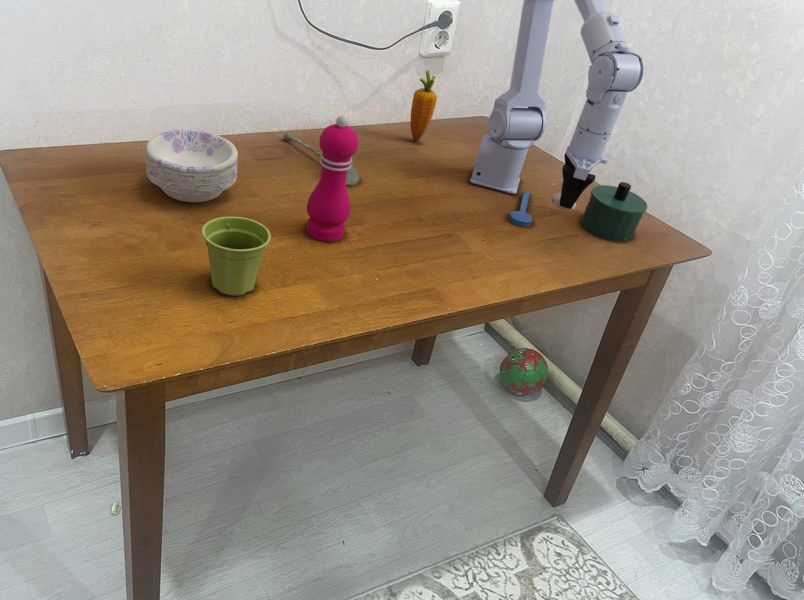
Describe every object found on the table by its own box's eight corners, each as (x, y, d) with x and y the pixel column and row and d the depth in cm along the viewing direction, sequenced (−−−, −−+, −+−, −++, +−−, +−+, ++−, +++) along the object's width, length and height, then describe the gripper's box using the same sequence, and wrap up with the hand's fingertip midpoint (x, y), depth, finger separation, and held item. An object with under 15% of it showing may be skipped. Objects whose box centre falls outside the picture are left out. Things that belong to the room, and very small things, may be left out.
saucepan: (580, 232, 134) (592, 204, 130) (582, 210, 142) (593, 183, 138) (632, 246, 133) (645, 218, 129) (631, 224, 140) (643, 197, 137)
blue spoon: (507, 222, 133) (509, 218, 132) (515, 192, 144) (517, 187, 143) (529, 228, 132) (531, 224, 131) (536, 197, 143) (537, 193, 143)
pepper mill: (351, 229, 122) (372, 115, 109) (337, 247, 116) (357, 129, 104) (312, 217, 123) (328, 103, 111) (297, 235, 118) (312, 117, 105)
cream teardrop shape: (565, 201, 131) (570, 188, 129) (581, 214, 127) (586, 202, 125) (545, 202, 129) (550, 189, 127) (561, 215, 125) (566, 203, 124)
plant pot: (202, 264, 107) (204, 212, 101) (265, 269, 108) (270, 219, 103) (197, 300, 99) (199, 246, 94) (265, 305, 101) (270, 253, 95)
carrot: (425, 148, 155) (441, 78, 145) (402, 143, 155) (417, 73, 146) (427, 140, 159) (443, 72, 149) (405, 135, 159) (420, 66, 150)
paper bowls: (157, 214, 116) (157, 169, 111) (138, 172, 126) (137, 129, 121) (247, 208, 122) (250, 165, 117) (221, 168, 132) (223, 127, 127)
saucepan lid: (589, 207, 131) (597, 188, 128) (590, 185, 139) (597, 167, 136) (646, 222, 129) (655, 203, 127) (644, 199, 137) (652, 181, 135)
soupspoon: (338, 191, 134) (364, 187, 138) (341, 175, 132) (368, 171, 135) (273, 140, 145) (299, 137, 149) (275, 124, 143) (301, 122, 147)
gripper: (618, 149, 113) (587, 224, 121) (618, 120, 124) (589, 191, 132) (574, 137, 114) (546, 213, 122) (577, 110, 125) (551, 180, 133)
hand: (565, 201), depth 127 cm, fingers closed on cream teardrop shape, 4 cm apart
